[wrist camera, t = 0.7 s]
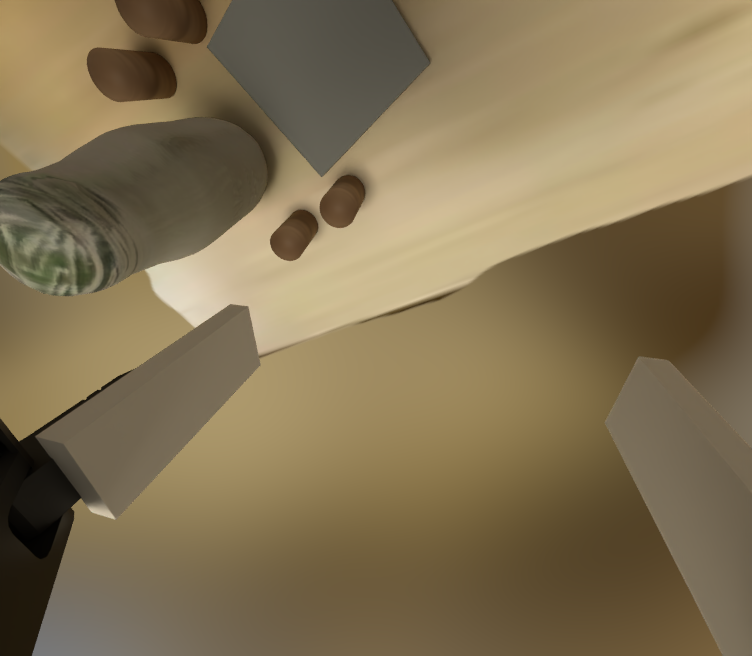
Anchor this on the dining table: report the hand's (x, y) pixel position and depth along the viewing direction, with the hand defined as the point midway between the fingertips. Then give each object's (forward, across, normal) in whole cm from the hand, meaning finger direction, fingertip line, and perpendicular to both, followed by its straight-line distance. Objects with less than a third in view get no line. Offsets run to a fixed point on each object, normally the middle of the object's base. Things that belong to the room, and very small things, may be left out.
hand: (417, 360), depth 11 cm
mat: (+30, -15, +14) cm, 37 cm away
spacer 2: (+28, -33, +13) cm, 46 cm away
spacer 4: (+32, -13, +1) cm, 35 cm away
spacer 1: (+28, -28, +18) cm, 44 cm away
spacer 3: (+32, -20, -3) cm, 38 cm away
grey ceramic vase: (+30, -26, +5) cm, 41 cm away
